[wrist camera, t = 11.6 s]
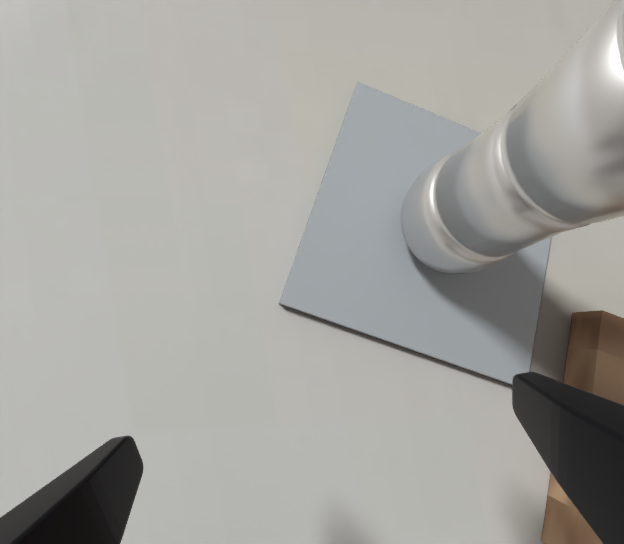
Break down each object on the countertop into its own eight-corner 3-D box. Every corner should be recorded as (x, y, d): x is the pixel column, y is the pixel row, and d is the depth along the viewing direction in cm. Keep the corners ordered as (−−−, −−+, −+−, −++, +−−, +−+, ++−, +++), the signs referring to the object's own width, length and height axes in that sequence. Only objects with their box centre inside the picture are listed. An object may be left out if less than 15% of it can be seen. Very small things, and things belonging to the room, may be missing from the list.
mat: (519, 387, 21) (526, 388, 20) (278, 303, 20) (279, 302, 19) (555, 171, 25) (562, 167, 24) (355, 88, 23) (357, 81, 23)
